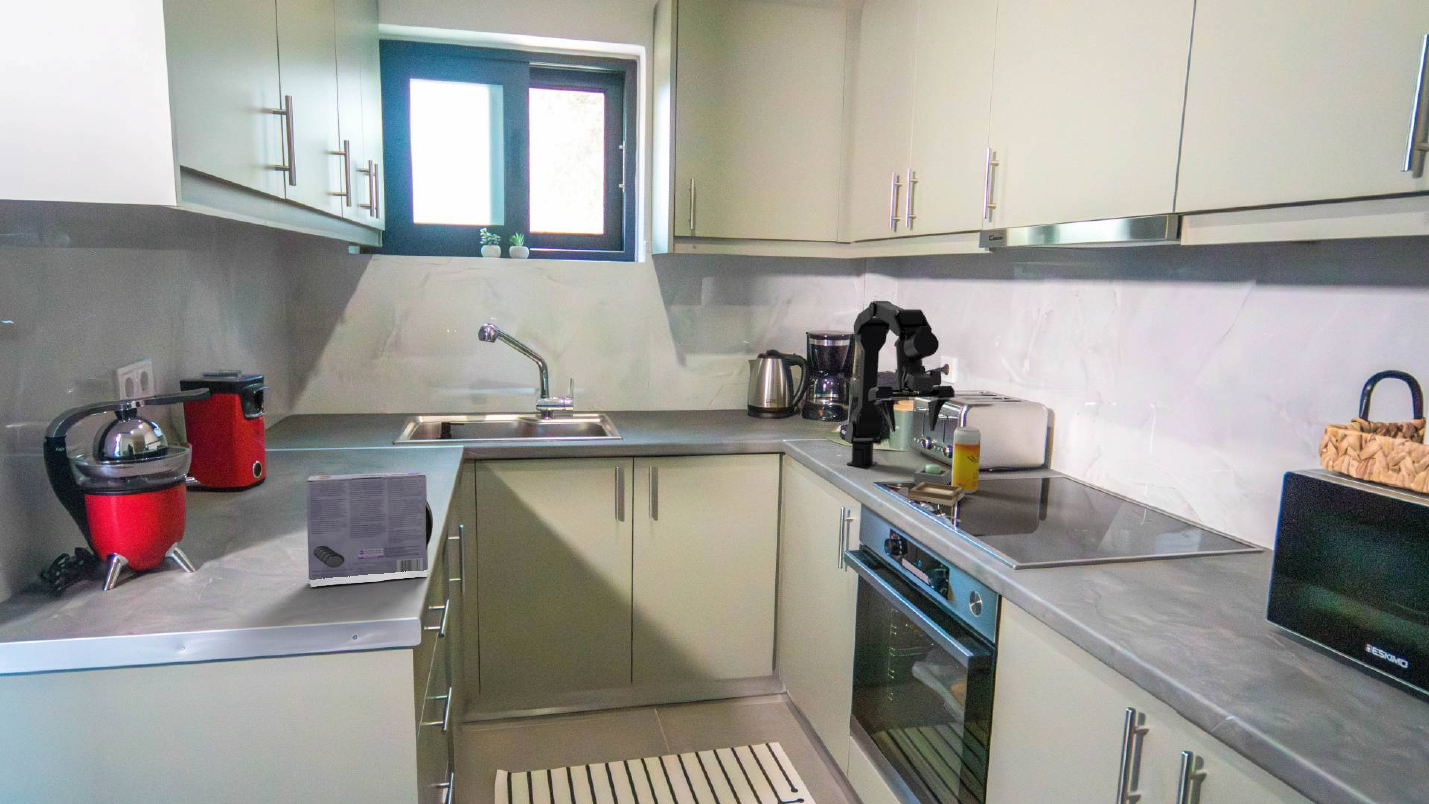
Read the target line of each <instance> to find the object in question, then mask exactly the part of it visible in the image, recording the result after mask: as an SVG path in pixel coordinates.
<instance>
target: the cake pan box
mask: <svg viewBox="0 0 1429 804" xmlns="http://www.w3.org/2000/svg"><path fill="white" fill-rule="evenodd" d="M427 494H428V493H427V474H426V471H408V472H407V471H406V472H384V473H383V472H382V473H381V472H378V473H376V472H375V473H354V474H351V473H350V474H349V473H348V474H331V475H330V474H329V475H328V474H327V475H324V474H323V475H310V476H309V477H308V479H307V480H306V501H307V502H306V503H307V505H306V506H307V507H306V508H307V510H306V511H307V550H308V551H307V552H308V553H307V554H308V555H307V556H308V557H307V559H308V580H309V579H310V580H316V579H322V578H323V579H325V578H333V577H348V576H349V577H350V576H358V575H368V574H384V573H395V572H404V571H405V572H406V571H424V570H427V569H428V570H429V554H428V552H429V550H428V549H429V547H428V546H429V544H430V542H431V539H432V535H433V527H434V518H433V512H432V509H431V506H430V503H429V502H428V499H427V497H428V495H427Z"/></svg>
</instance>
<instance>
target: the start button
mask: <svg viewBox="0 0 1429 804" xmlns="http://www.w3.org/2000/svg"><path fill="white" fill-rule="evenodd" d="M925 468H926V469H925V473H927V474H935V475H940V473H941V470H942V467H941V465H940V464H936V463H935V464H933V463H930V464H925Z"/></svg>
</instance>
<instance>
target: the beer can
mask: <svg viewBox="0 0 1429 804" xmlns="http://www.w3.org/2000/svg"><path fill="white" fill-rule="evenodd" d="M981 435H982V433H981V431H980V428H978V427H973V426H958V427H955V429H954V432H953V444H952V445H953V446H952V466H951V483H950V485H951V486H958V487H964V490H963V491H964V494H974V493H975V492H976V491H977V490H978V488H979V473H980V458H981V457H980V455H981V454H980V453H981V437H982V436H981ZM973 492H974V493H973Z"/></svg>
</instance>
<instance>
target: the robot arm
mask: <svg viewBox="0 0 1429 804" xmlns="http://www.w3.org/2000/svg"><path fill="white" fill-rule="evenodd" d="M932 329H933V327H932V326H931V325H930V323H929V321H928V320H927V317H926V316H925V314H924V312H923V310H922V309H919V308H918V309H914V308H912V309H911V308H910V309H908V308H907V309H906V308H902V307H900V306H898V305H895V304H893V303H892V302H891V301H888V300H873V301H870V303H869V304H868V307H866V308H865V309H864V310H862V311H860V312H859V313H858V315H857V316H856V319H855V321H854V323H853V333H854V340H855V342H856V344H857V346H858V348H859V350H860V362H859V379H858V380H859V383H858V399H857V400H858V401H857V405H856V407H855V408H854V409H853V411H852V413H851V415H850V416H851V417H850V421H849V423H848V425H847V427H846V429H845V432H844V438H845V442H846V443H848V444H850V445H851V461H848V462H846V465H847V466H851V467H860V468H867V469H869V468H871V467H875V465H877V464H878V461H874V447H875V445H874V444H881V443H882V438H883V433H884V428H885V427H884V426H885V425H884V424H883V416H882V414H881V413H880V411H881V412H882V413H883V415H884V417H885V420H886V422H887V424H888V425H889V428H890V431H891V432H893V433H895V432H896V418H895V410H894V408H895V407H894V406H895V399H896V398H899V399H900V398H928V399H930V401H928V402H927V407H928V425H929V428H930V429H929V430H930V432H934V431H935V428H936V425H937V422H938V418H939V415H940V413H941V410H942V408H943V406H944V404H945V403H949V402H950V400H951V399H954V398H956V395H955V394H956V393H955V388H954V387H953V386H952V385H942V372H941V371H940V370H937V369H935V370H934V369H933V370H930V371H929V373H927V371H926V366H925V365H923V360H924V359H926V358H928V357H931V356H933V355H935V353H937V351H938V349H939V345H940V343H939V342H940V341H939V340H938V338H937V336H936V334H934V333H933V331H932ZM889 331H891V332H892V333H893V334H894V335H895V336H896V337H898V338H897V339H896V341H895V342H894V345H893V346H894V347H895V350H896V351H895V352H896V353H895V354H896V369H895V370H894V371H895V372H894V373H895V374H896V375H897V386H896V387H895V388H896V389H894V388H893V387H892V386H891V385H889V386H887V385H886V386H878V377H879V359H880V358H879V357H880V351H881V350H882V348H883V347H884V345H885V344H886V343H887V335H888V334H889ZM892 398H895V399H892ZM877 406H878V407H877ZM878 408H879V409H880V411H879V409H878Z"/></svg>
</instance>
